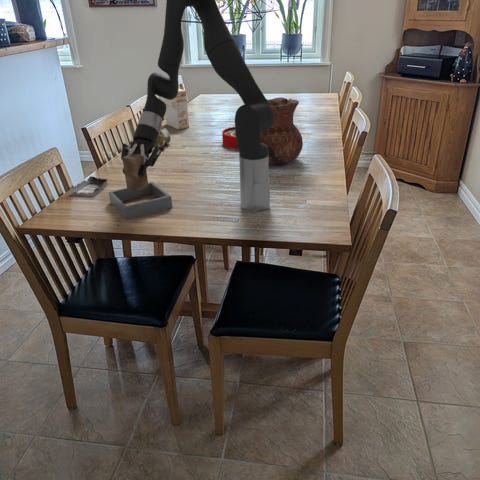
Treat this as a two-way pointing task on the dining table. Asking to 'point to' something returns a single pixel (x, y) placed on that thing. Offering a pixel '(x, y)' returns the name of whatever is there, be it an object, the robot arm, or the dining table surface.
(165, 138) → the ceramic sculpture
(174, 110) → the coffeecake box
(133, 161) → the walnut block
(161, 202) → the box
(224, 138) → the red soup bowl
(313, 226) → the dining table surface
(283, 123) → the jug
